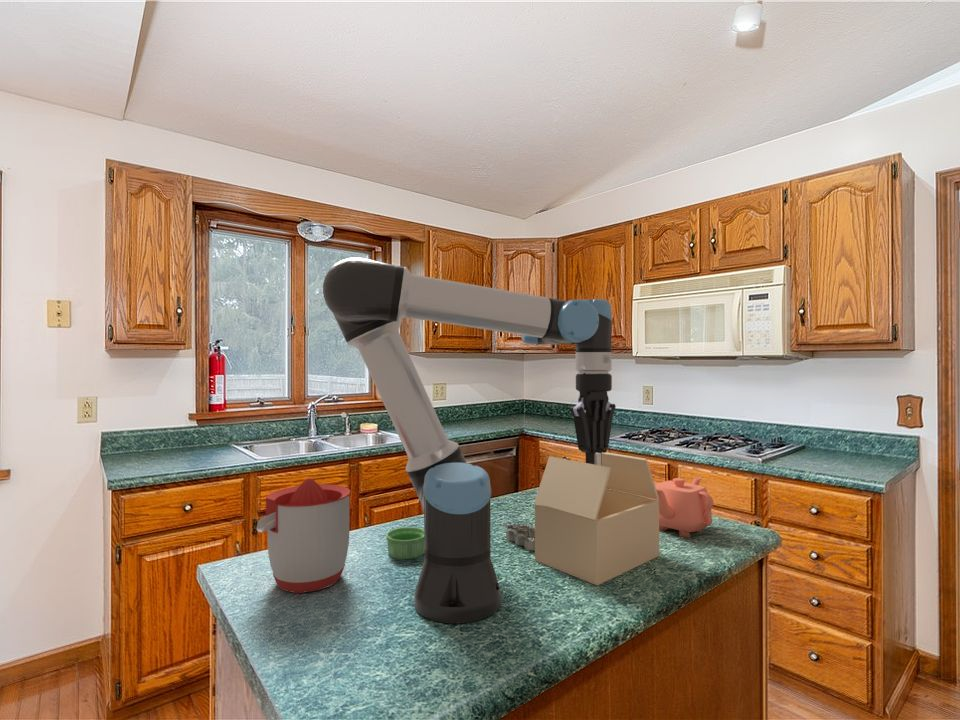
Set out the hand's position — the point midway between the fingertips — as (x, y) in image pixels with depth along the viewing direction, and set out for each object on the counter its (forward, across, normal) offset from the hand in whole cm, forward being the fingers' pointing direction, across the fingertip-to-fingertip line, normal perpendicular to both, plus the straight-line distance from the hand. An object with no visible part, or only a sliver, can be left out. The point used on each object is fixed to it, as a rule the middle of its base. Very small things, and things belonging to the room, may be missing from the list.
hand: (593, 483), depth 109 cm
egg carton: (+17, -3, +17) cm, 24 cm away
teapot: (+16, +32, -2) cm, 36 cm away
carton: (+16, +1, 0) cm, 16 cm away
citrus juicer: (+17, -51, +30) cm, 61 cm away
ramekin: (+17, -28, +30) cm, 44 cm away
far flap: (0, +10, 0) cm, 10 cm away
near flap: (0, -7, 0) cm, 7 cm away
